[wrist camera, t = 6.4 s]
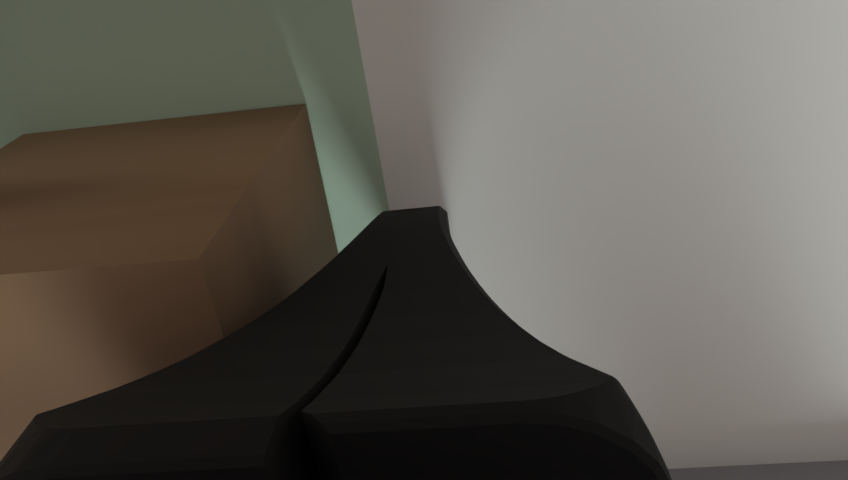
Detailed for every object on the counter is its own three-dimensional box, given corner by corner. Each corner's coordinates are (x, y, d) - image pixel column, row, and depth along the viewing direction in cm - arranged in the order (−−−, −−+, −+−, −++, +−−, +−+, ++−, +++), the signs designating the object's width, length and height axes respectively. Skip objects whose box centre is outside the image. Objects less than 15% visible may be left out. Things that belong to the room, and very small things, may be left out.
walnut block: (359, 351, 14) (301, 579, 10) (118, 366, 15) (-36, 586, 10) (306, 103, 12) (198, 258, 8) (23, 134, 13) (-227, 293, 8)
